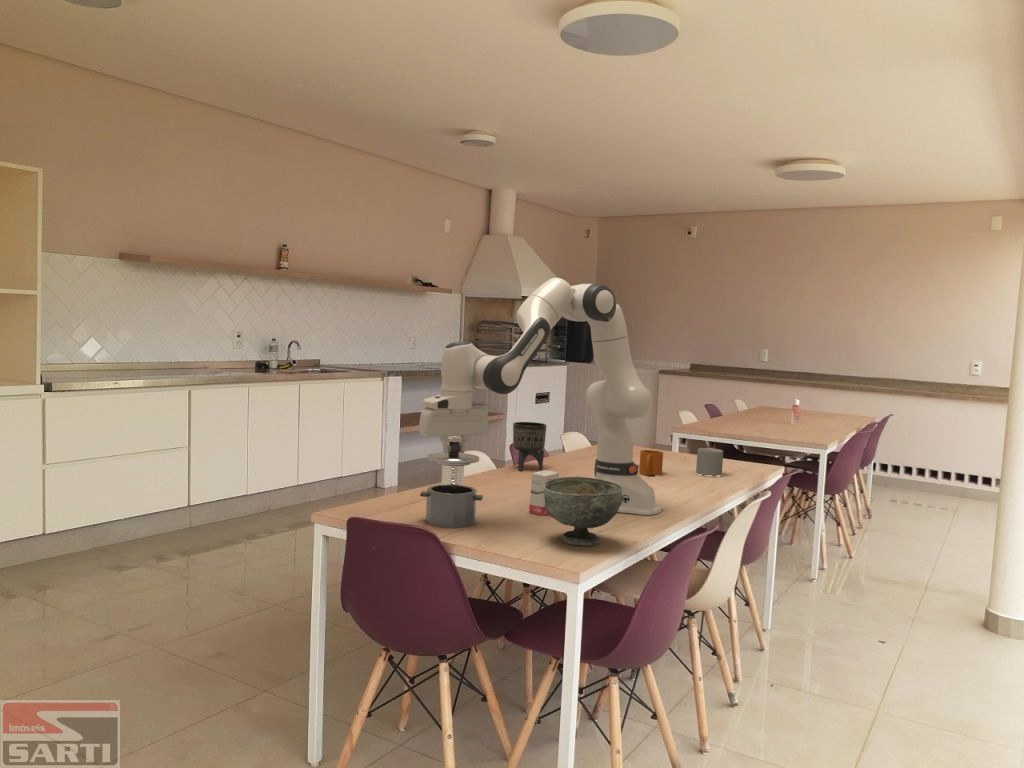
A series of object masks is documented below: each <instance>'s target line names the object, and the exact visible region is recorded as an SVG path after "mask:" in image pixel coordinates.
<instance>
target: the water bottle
mask: <svg viewBox="0 0 1024 768" xmlns="http://www.w3.org/2000/svg"><path fill="white" fill-rule="evenodd" d="M461 440H462V439H461V438H460V436H448V440H446V441H447V443H448V445H449V441H458V442H459V444H460V442H461ZM465 449H466V447H465V448H464V452H459V453H465V452H466V451H465ZM464 473H465V466H447V465H441V483H440V485H463V486H464V478H465V477H464V475H465V474H464Z"/></svg>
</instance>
